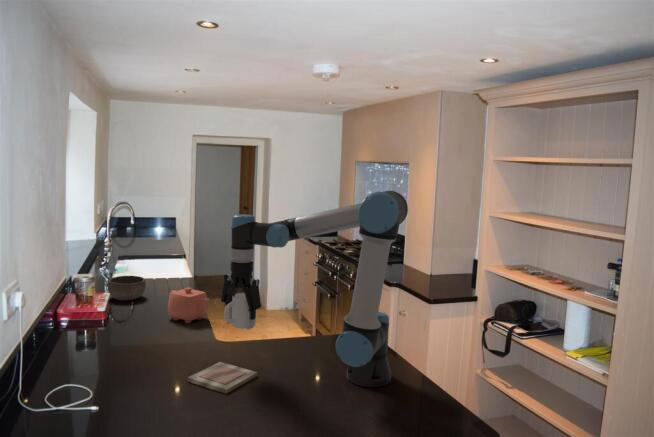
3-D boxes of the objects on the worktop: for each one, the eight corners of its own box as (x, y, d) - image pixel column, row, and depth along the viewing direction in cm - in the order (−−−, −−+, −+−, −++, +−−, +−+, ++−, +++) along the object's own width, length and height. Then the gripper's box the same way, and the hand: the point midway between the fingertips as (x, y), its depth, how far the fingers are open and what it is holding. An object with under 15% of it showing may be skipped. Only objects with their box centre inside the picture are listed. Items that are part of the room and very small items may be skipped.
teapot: (217, 320, 236) (217, 289, 235) (197, 327, 225) (197, 295, 224) (180, 311, 247) (181, 282, 245) (160, 318, 236) (160, 287, 234)
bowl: (138, 304, 256) (138, 283, 255) (101, 302, 256) (101, 282, 255) (150, 295, 273) (150, 276, 272) (116, 293, 274) (116, 274, 272)
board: (257, 376, 178) (257, 371, 177) (226, 393, 164) (226, 388, 163) (220, 365, 185) (220, 361, 185) (187, 381, 171) (187, 376, 171)
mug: (230, 332, 174) (231, 302, 173) (217, 325, 180) (218, 296, 179) (260, 326, 182) (261, 297, 181) (247, 319, 188) (247, 291, 187)
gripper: (273, 263, 176) (271, 329, 179) (226, 254, 187) (224, 317, 189) (259, 266, 170) (257, 335, 172) (211, 257, 180) (209, 322, 183)
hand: (240, 325), depth 181 cm, fingers closed on mug, 8 cm apart
